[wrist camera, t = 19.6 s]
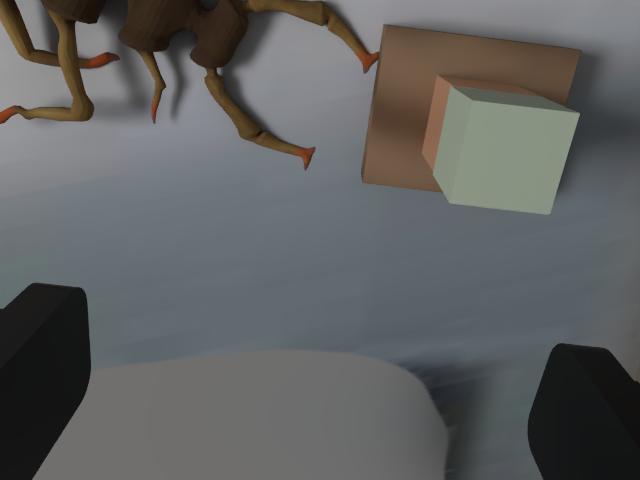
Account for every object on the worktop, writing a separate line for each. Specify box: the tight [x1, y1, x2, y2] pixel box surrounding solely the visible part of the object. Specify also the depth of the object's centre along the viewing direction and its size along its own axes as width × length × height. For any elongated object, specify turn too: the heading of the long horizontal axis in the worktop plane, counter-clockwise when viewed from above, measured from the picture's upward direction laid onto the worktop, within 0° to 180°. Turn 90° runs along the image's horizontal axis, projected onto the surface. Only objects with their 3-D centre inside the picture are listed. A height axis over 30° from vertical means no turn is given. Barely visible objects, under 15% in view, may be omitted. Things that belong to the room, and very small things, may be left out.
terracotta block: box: [422, 75, 544, 171], centre depth 33 cm, size 5×5×5 cm
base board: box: [361, 25, 581, 193], centre depth 36 cm, size 10×12×2 cm
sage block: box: [433, 86, 580, 215], centre depth 28 cm, size 5×5×5 cm
